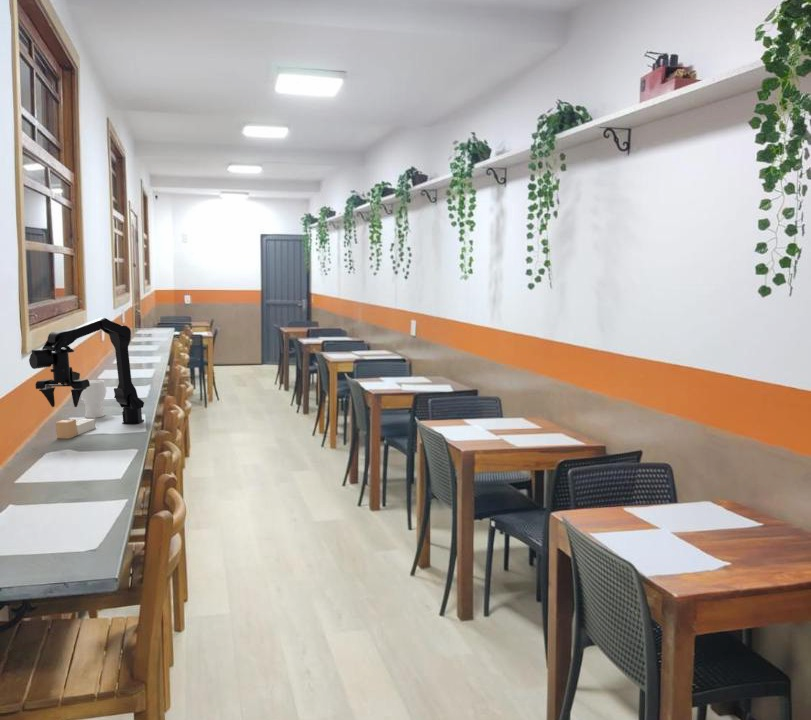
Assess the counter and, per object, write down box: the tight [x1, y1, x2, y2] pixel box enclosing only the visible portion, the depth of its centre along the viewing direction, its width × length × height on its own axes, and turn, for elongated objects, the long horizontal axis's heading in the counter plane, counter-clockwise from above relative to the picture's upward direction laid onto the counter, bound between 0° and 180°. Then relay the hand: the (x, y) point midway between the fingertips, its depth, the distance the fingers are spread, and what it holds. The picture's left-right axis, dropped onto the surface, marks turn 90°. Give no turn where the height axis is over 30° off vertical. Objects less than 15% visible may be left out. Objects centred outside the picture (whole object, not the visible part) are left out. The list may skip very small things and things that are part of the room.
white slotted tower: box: [76, 418, 97, 436], centre depth 289 cm, size 5×12×4 cm, turn 171°
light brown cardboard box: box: [55, 418, 78, 439], centre depth 280 cm, size 5×5×6 cm
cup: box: [80, 379, 107, 419], centre depth 317 cm, size 11×11×15 cm
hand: (64, 406), depth 279 cm, fingers open, 9 cm apart
